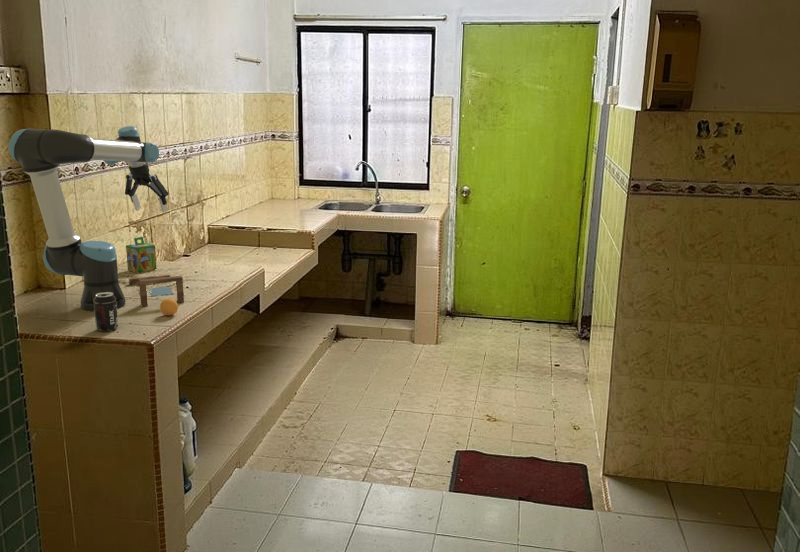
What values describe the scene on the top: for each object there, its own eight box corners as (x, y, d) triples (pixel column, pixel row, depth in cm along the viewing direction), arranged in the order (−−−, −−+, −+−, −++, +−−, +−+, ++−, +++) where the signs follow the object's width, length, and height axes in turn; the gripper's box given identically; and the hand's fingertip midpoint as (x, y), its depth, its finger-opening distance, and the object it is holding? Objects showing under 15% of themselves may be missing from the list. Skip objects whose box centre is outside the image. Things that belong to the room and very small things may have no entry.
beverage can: (92, 332, 228) (89, 296, 225) (101, 326, 235) (98, 291, 232) (113, 332, 228) (110, 297, 225) (121, 326, 235) (118, 291, 232)
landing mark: (141, 297, 269) (141, 297, 269) (137, 290, 280) (137, 289, 280) (173, 294, 275) (173, 293, 274) (169, 287, 285) (168, 286, 285)
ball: (162, 318, 244) (160, 301, 242) (159, 313, 249) (158, 297, 247) (179, 316, 246) (178, 299, 245) (176, 311, 252) (175, 295, 250)
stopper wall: (129, 285, 287) (129, 279, 286) (129, 284, 288) (128, 278, 288) (170, 281, 294) (170, 275, 293) (169, 280, 295) (169, 274, 295)
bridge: (184, 302, 263) (182, 277, 261) (141, 307, 257) (139, 281, 255) (182, 300, 266) (181, 275, 264) (140, 304, 260) (138, 279, 257)
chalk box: (140, 273, 306) (137, 240, 303) (126, 270, 311) (124, 238, 308) (157, 269, 314) (155, 237, 310) (144, 267, 319) (142, 234, 315)
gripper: (168, 161, 288) (181, 208, 300) (118, 159, 296) (132, 204, 307) (158, 168, 282) (171, 216, 294) (106, 166, 290) (122, 212, 301)
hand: (151, 210), depth 300 cm, fingers open, 13 cm apart
